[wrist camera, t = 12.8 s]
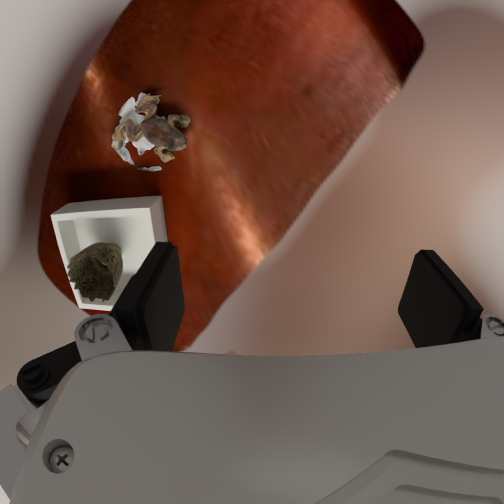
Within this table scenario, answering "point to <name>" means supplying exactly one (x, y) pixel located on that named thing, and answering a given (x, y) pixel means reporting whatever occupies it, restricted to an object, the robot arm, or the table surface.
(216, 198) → the table surface
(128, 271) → the bin
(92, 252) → the embossed bronze vase
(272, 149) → the table surface
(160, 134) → the frog figurine
